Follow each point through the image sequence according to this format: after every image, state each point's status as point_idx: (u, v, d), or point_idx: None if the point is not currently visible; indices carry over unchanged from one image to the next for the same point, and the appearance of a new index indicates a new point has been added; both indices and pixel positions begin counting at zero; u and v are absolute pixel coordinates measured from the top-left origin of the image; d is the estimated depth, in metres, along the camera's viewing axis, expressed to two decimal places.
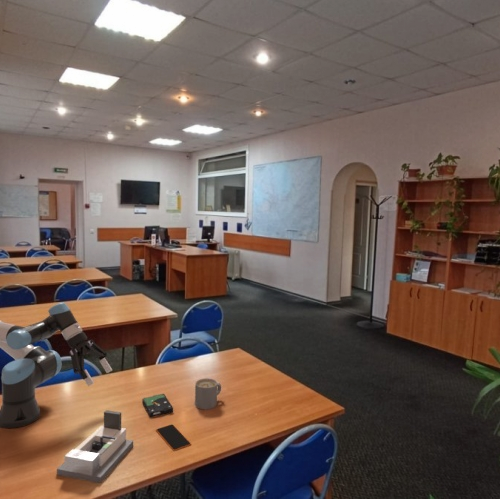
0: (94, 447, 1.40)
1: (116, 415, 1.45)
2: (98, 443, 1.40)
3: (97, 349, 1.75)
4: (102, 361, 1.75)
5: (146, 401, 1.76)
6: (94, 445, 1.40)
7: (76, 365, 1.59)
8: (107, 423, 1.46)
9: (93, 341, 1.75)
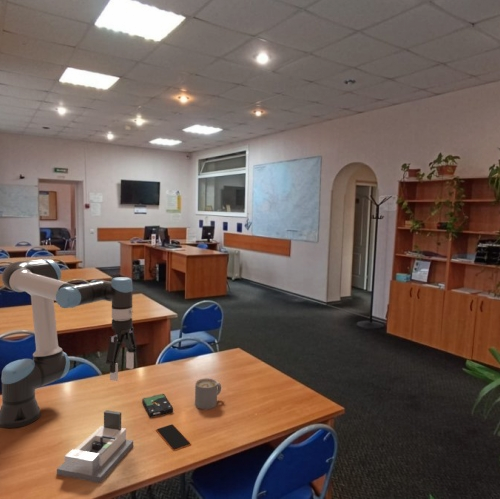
0: (94, 447, 1.40)
1: (116, 415, 1.45)
2: (98, 443, 1.40)
3: (131, 339, 1.57)
4: (129, 354, 1.57)
5: (146, 401, 1.76)
6: (94, 445, 1.40)
7: (111, 357, 1.43)
8: (107, 423, 1.46)
9: (133, 330, 1.57)
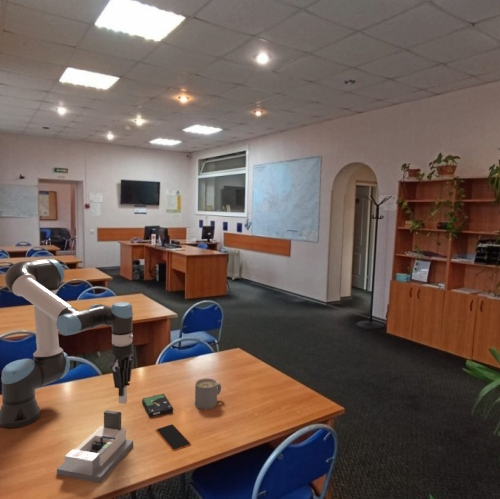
0: (94, 447, 1.40)
1: (116, 415, 1.45)
2: (98, 443, 1.40)
3: (128, 369, 1.55)
4: None
5: (146, 401, 1.76)
6: (94, 445, 1.40)
7: (118, 383, 1.48)
8: (107, 423, 1.46)
9: (132, 359, 1.57)
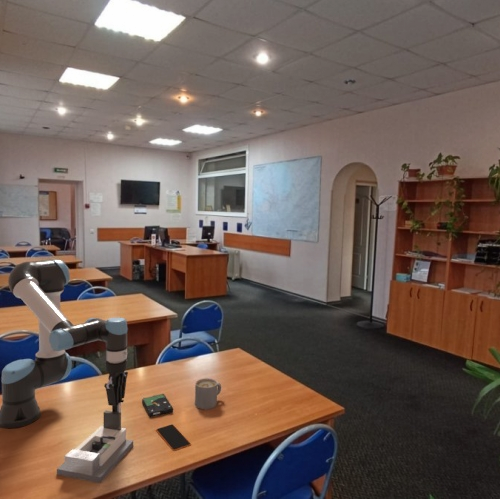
0: (94, 447, 1.40)
1: (116, 415, 1.45)
2: (98, 443, 1.40)
3: (122, 385, 1.52)
4: None
5: (146, 401, 1.76)
6: (94, 445, 1.40)
7: (112, 400, 1.44)
8: (106, 424, 1.46)
9: None
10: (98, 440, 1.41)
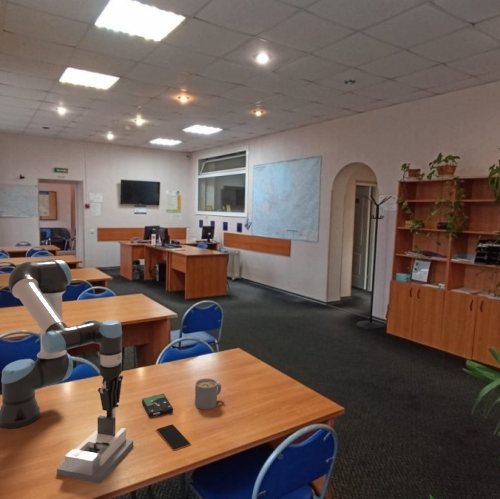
0: None
1: (110, 420, 1.41)
2: (92, 449, 1.37)
3: (117, 389, 1.48)
4: None
5: (145, 401, 1.76)
6: (88, 451, 1.36)
7: (106, 405, 1.41)
8: (100, 429, 1.42)
9: None
10: (92, 446, 1.37)
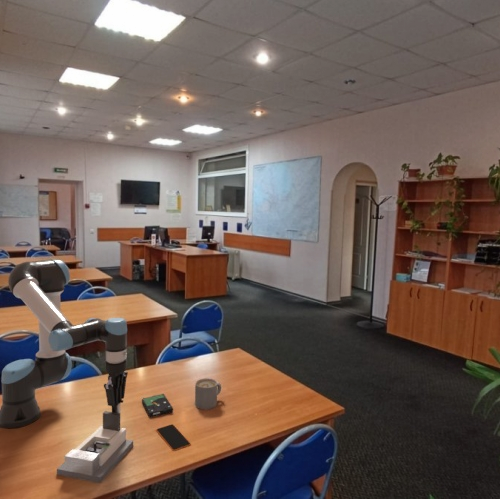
0: None
1: (115, 416, 1.44)
2: (92, 449, 1.37)
3: (122, 386, 1.51)
4: None
5: (145, 401, 1.76)
6: (88, 451, 1.36)
7: (112, 401, 1.44)
8: (106, 424, 1.46)
9: (126, 375, 1.53)
10: None
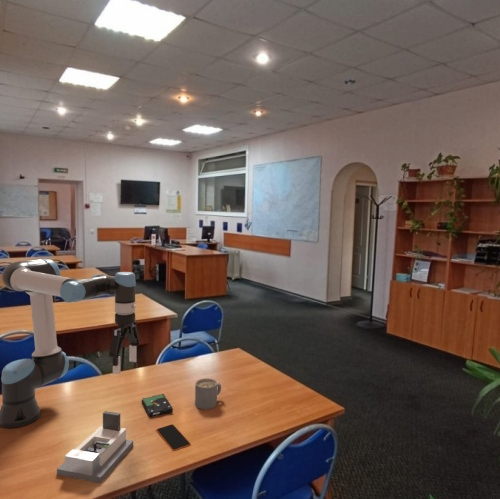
0: None
1: (115, 416, 1.44)
2: (92, 449, 1.37)
3: (134, 333, 1.59)
4: (132, 348, 1.59)
5: (145, 402, 1.76)
6: (88, 451, 1.36)
7: (114, 350, 1.44)
8: (106, 424, 1.46)
9: (136, 324, 1.58)
10: None
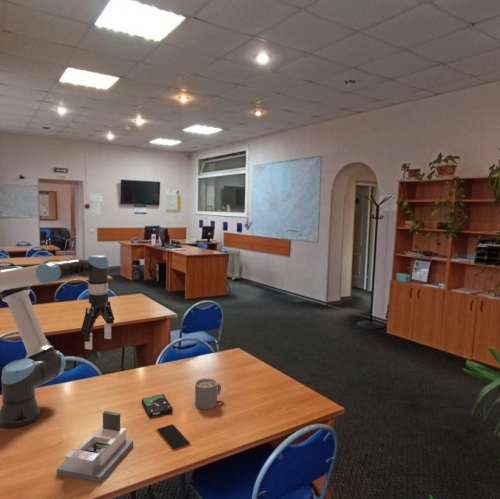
0: None
1: (115, 416, 1.44)
2: (92, 449, 1.37)
3: (109, 312, 1.69)
4: (107, 326, 1.69)
5: (145, 402, 1.76)
6: (88, 451, 1.36)
7: (86, 326, 1.53)
8: (106, 424, 1.46)
9: None
10: None
